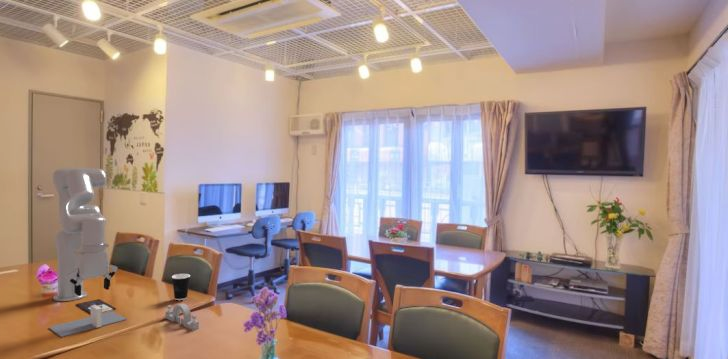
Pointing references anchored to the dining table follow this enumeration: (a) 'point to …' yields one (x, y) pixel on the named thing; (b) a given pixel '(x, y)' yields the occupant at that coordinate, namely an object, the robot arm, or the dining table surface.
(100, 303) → the chocolate bar
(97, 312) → the slab
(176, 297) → the dixie cup
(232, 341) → the dining table surface
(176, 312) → the grey arched bracket
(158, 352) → the dining table surface
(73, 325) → the mat
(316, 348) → the dining table surface
